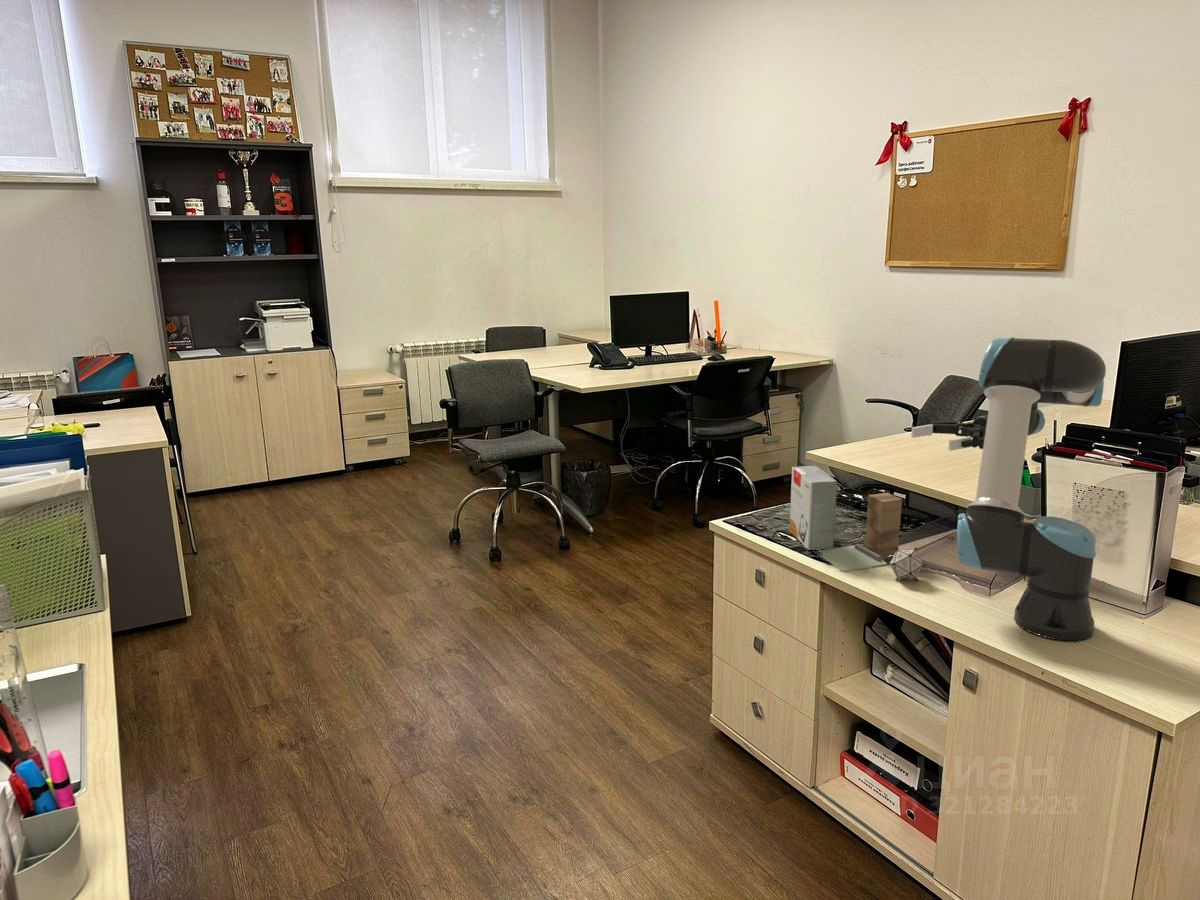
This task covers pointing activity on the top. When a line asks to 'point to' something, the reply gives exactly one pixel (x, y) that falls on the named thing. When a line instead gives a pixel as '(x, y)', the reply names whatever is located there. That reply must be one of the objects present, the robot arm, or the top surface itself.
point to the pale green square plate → (852, 558)
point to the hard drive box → (813, 507)
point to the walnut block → (883, 524)
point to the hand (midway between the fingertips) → (930, 438)
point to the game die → (906, 564)
